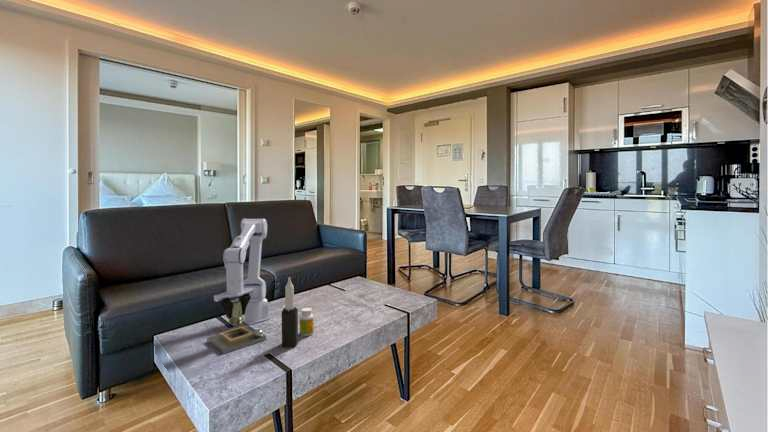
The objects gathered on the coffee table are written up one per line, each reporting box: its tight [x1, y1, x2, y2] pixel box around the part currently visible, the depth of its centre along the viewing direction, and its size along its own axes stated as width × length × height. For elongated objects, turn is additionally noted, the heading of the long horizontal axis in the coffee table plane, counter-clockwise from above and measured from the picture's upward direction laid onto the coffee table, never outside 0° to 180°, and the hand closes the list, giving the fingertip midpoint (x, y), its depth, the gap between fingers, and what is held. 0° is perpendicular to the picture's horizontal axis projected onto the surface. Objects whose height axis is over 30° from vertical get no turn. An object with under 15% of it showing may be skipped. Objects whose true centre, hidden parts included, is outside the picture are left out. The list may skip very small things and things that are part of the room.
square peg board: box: [206, 325, 267, 355], centre depth 128 cm, size 16×14×4 cm
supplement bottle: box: [299, 307, 315, 337], centre depth 136 cm, size 5×5×10 cm
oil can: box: [228, 297, 244, 326], centre depth 128 cm, size 5×5×10 cm
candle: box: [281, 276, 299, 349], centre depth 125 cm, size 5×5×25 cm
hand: (235, 316), depth 128 cm, fingers closed on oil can, 5 cm apart
